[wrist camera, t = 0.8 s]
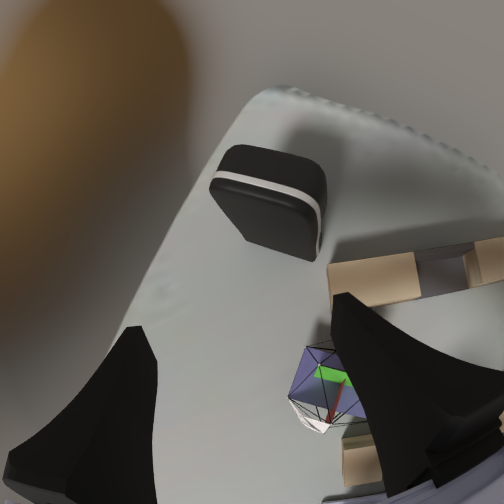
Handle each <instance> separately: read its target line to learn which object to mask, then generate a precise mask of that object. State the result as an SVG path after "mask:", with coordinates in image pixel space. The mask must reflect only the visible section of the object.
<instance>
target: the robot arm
mask: <svg viewBox="0 0 504 504" xmlns="http://www.w3.org/2000/svg"><path fill="white" fill-rule="evenodd" d="M330 334H331V337H332V340H333V343H334V346H335V349H336V352H337V355H338V357H339V359H340V361H341V363H342V365H343V367H344V369H345V371H346V373H347V375H348V377H349V380H350V382H351V384H352V386H353V388H354V390H355V392H356V394H357V396H358V398H359V400H360V402H361V405H362V407H363V409H364V412H365V415H366V418H367V421H368V424H369V427H370V430H371V433H372V437H373V440H374V443H375V447H376V450H377V454H378V458H379V462H380V466H381V470H382V475H383V480H384V484H385V490H386V493H381V494H375V495H370V496H364V497H358V498H351V499H344V500H335V501H326V502H323V503H321V504H504V432H503V433H502V432H501V430H500V427H501V426H502V422H501V420H500V419H499V416H500V415H501V414H502V413H503V412H504V371H499V370H494V369H490V368H485V367H481V366H478V365H474V364H471V363H468V362H465V361H462V360H459V359H456V358H454V357H451V356H449V355H447V354H444V353H442V352H440V351H437V350H435V349H433V348H431V347H429V346H427V345H425V344H424V343H422V342H420V341H418V340H416V339H414V338H413V337H411V336H409V335H408V334H406V333H405V332H403V331H401V330H400V329H398V328H397V327H395V326H394V325H392V324H391V323H389V322H388V321H387V320H385V319H384V318H382V317H381V316H380V315H378V314H377V313H376V312H374V311H373V310H372V309H370V308H369V307H368V306H366V305H365V304H364V303H362V302H361V301H360V300H358V299H357V298H356V297H355V296H353V295H352V294H351V293H349V292H344V293H340V294H335V295H333V305H332V320H331V333H330ZM157 386H158V369H157V360H156V358H155V356H154V353H153V351H152V349H151V347H150V345H149V342H148V340H147V338H146V336H145V333H144V331H143V329H142V326H133V327H126V329H125V330H124V331H123V333H122V334H121V336H120V337H119V339H118V340H117V342H116V343H115V345H114V346H113V347H112V349H111V350H110V352H109V353H108V355H107V356H106V358H105V359H104V361H103V362H102V363H101V365H100V366H99V368H98V369H97V371H96V372H95V373H94V374H93V376H92V377H91V378H90V380H89V381H88V382H87V384H86V385H85V386H84V387H83V389H82V390H81V391H80V392H79V394H78V395H77V396H76V397H75V398H74V399H73V400H72V401H71V402H70V403H69V404H68V406H67V407H66V408H65V409H63V410H62V411H61V413H59V414H58V415H57V416H56V417H55V418H54V419H53V420H52V421H51V422H50V423H49V424H47V425H46V426H45V427H44V428H43V429H41V430H40V431H39V432H38V433H36V434H35V435H34V436H33V437H31V438H30V439H28V440H27V441H25V442H24V443H22V444H21V445H19V446H17V447H16V448H14V449H13V450H11V451H9V454H8V458H7V462H6V466H5V470H4V474H3V479H2V480H3V482H4V483H5V485H6V486H8V487H9V488H10V489H12V490H13V491H15V492H16V493H18V494H19V495H21V496H23V497H24V498H26V499H28V500H30V501H31V502H33V503H35V504H157V498H156V490H155V483H154V471H153V456H152V433H153V423H154V413H155V404H156V395H157ZM5 504H18V503H16V502H13V501H10V500H6V501H5Z"/></svg>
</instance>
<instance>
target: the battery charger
mask: <svg viewBox="0 0 504 504" xmlns="http://www.w3.org/2000/svg"><path fill="white" fill-rule="evenodd" d="M210 182H211V183H210V187H209V191H210V194H211V195H212V197H213V198H214V200H215V201H216V203H217V204H218V205H219V207H220V208H221V209H222V211H223V212H224V213H225V214H226V216H227V217H228V218H229V219H230V220H231V222H232V223H233V224H234V225H235V226H236V227H237V229H238V230H239V231H240V233H241V234H242V235H243V237H244V238H245V240H246V241H249V242H252V243H255V244H258V245H261V246H264V247H267V248H270V249H273V250H276V251H279V252H282V253H285V254H288V255H291V256H294V257H297V258H301V259H304V260H307V261H310V262H313V261H315V259H316V257H317V256H318V254H319V248H320V245H321V226H322V219H323V216H324V213H325V210H326V205H327V183H326V177H325V174H324V171H323V170H322V169H321V167H320V166H319V165H318V164H317V163H315V162H314V161H312V160H310V159H307V158H303V157H300V156H296V155H292V154H288V153H284V152H280V151H275V150H271V149H266V148H261V147H256V146H251V145H244V144H241V145H234V146H233V147H231V148H230V149H228V150H227V151H226V153H225V154H224V156H223V158H222V160H221V162H220V164H219V166H218V169H217V171H216V172H215V173H214V174H213V176H212V178H211V180H210Z"/></svg>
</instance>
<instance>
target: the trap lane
mask: <svg viewBox="0 0 504 504" xmlns="http://www.w3.org/2000/svg"><path fill="white" fill-rule="evenodd" d="M326 273H327V281H328V288H329V296H330V304H331V313H332V305H333V295H335V294H340V293H344V292H349V293H351V294H352V295H353V296H355V297H356V298H357V299H358V300H360V301H361V302H362V303H364V304H365V305H366V306H368V307H369V308H371V307H377V306H383V305H389V304H395V303H400V302H406V301H411V300H417V299H422V298H427V297H432V296H437V295H442V294H447V293H451V292H456V291H461V290H465V289H470V288H474V287H478V286H483V285H487V284H491V283H495V282H499V281H503V280H504V237H499V238H493V239H487V240H481V241H475V242H469V243H464V244H457V245H451V246H445V247H439V248H433V249H427V250H420V251H414V252H407V253H401V254H394V255H388V256H381V257H374V258H368V259H361V260H354V261H347V262H340V263H333V264H327V271H326ZM499 419H500V420H501V422H502V426H501V427H500V430H501V432H502V433H503V432H504V412H503V413H502V414H501V415H500V416H499ZM341 441H342V474H343V480H344V487H347V486H354V485H361V484H367V483H372V482H378V481H383V475H382V470H381V466H380V462H379V458H378V454H377V450H376V447H375V443H374V440H373V437H372V434H368V435H362V436H355V437H349V438H341Z"/></svg>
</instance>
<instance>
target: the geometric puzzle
mask: <svg viewBox="0 0 504 504" xmlns="http://www.w3.org/2000/svg"><path fill="white" fill-rule="evenodd" d="M330 341H331V340H330ZM326 342H327V341H326ZM322 343H323V342H322ZM318 344H319V343H318ZM314 345H315V344H314ZM310 346H311V345H310ZM304 347H305V350H304V353H303V356H302V358H301V361H300V364H299V367H298V370H297V373H296V375H295V378H294V381H293V384H292V386H291V389H290V392H289V395H288V396H287V397H286V398H289V399H290V398H291V399H290V400H292V399H294V400H298V401H301V402H304V403H308V404H311V405H315V406H316V409H317V406H318V407H322V408H326V409H328V415H327V417H326V420H324V419H322V418H321V419H322V420H324V421H325V423H324V422H321V419H320V416H319V413H318V416H317V415H316V416H317V417H319V419H320V421H317V420H314V419H312V418H311V417H310V418H308V417H305V416H302V415H301V414H300V413H299V411H298V410H297V409H296V408H295V406H294V405H293V404H292V403H291V401H290V400H289V401H290V403H291V405H292V406H293V408H294V410H295V412H296V413H297V415H298V417H299V420H300V421H301V422H302V423H303V424H304V425H305V426H307V427H308V428H310V429H312V430H315V429H316V430H315V431H317V430H318V431H317V432H319V433H323V434H324V433H325V432H326V431H327V429H328V428H330V425H331V426H332V425H333V423H334V422H336V421H337V420H338V419H339V418H340V417H341V416H343V415H344V414H349V415H353V416H358V417H362V418H366V415H365V412H364V409H363V407H362V405H361V402H360V400H359V398H358V396H357V394H356V392H355V390H354V388H353V386H352V384H351V382H350V380H349V377H348V375H347V373H346V371H345V369H344V367H343V365H342V363H341V361H340V359H339V357H338V355H334V353H335V352H336V350H334V351H335V352H334V353H332V354H330V353H327V352H323V351H320V350H316V349H325V348H316V347H309V346H304ZM313 348H316V349H313ZM325 350H333V349H325ZM292 401H293V400H292ZM294 402H295V401H293V403H294ZM295 403H296V402H295ZM295 403H294V404H295ZM297 404H298V403H297ZM295 405H296V404H295ZM298 405H299V404H298ZM296 406H297V405H296ZM300 406H301V405H300ZM301 407H302V406H301ZM303 408H304V407H303ZM304 409H306V408H304ZM306 410H307V409H306ZM302 411H303V410H302ZM308 411H309V410H308ZM336 411H337V412H340V413H343V414H342V415H341V416H340V417H339V418H338V419H336V420H335V421H334V422H333V423H332V421H333V420H334V419H335V418H336V417H337V416H338V415H339V414H340V413H339V414H338V415H337V416H335V417H334V415H335V412H336ZM303 412H304V411H303ZM309 412H310V411H309ZM317 412H318V409H317ZM304 413H305V412H304ZM311 413H312V412H311ZM305 414H306V413H305ZM312 414H314V413H312ZM314 415H315V414H314ZM366 419H367V418H366ZM364 422H368V421H362V423H364ZM351 423H355V424H358V423H357V422H351ZM339 424H347V423H339ZM349 425H352V424H349ZM311 426H312V427H313V428H315V429H313V428H312V427H311ZM342 426H345V425H342ZM335 427H338V426H335Z"/></svg>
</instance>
